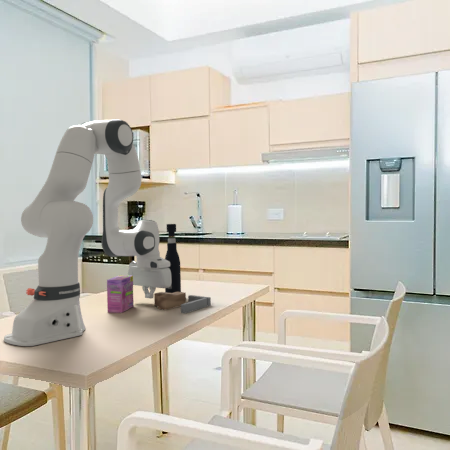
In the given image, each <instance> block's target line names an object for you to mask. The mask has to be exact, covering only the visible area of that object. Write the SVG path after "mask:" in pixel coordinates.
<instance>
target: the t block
mask: <svg viewBox="0 0 450 450" xmlns="http://www.w3.org/2000/svg"><path fill="white" fill-rule="evenodd" d="M186 298H187V294H186V292H184V291H181V292H174V293H167V292H165V291H159V292H154V298H153V299H154V302H153V303H154V306H155V307H157V309H158V310H162V309H163V310H164V311H168V310H171V309H175V308H179V307H181V304H184V303H187V301H186V300H187V299H186Z"/></svg>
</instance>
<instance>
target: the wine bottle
mask: <svg viewBox="0 0 450 450" xmlns="http://www.w3.org/2000/svg"><path fill="white" fill-rule="evenodd" d="M175 232H176V233H177V224H176V223H166V233H167V234H168V238H167V243H166V249H167V250H166V254H165V257H164V259H165V260H167V261H169V262H170V267H168V268H169V269H170V271H171V281H172V283H171V286H170V287H169V288H164V292H167V293H174V292H182V283H181V282H182V281H181V280H182V277H181V260H180V255H179V252H178V250H177V249H178V248H177V242H176V238H175V237H176V235H175Z"/></svg>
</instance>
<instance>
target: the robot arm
mask: <svg viewBox="0 0 450 450" xmlns="http://www.w3.org/2000/svg"><path fill="white" fill-rule="evenodd" d="M95 155H104V156H105V158H106V159H107V161H106V162H107V172H108V184H107V187H105V189H104V191H103V195H102V236H101V248H102V250H103V252H104V253H105V254H106V255H107V256H108V257H110V258H113V257H114V258H115V257H136V261H135V260H131V262H130V263H129V265H128V267H129V268H128V271H127V272H128V273H127V275H132V276H133V286H136V287H137V286H138V287H140V286H141V288H142V291H143V293H144V298H146V299H154V293H156V292H155V291H157V289H165V288H169V287H170V286H171V283H172V281H171V271H170V269H169V268H168V267H170V262H169V261H167V260H165V258H164V257H162V256H161V254H160V253H161V252H160V249H159V247H160V232H159V226H158V225H159V224H158V223H157V222H156V221H155V220H152V219H139V220H137V222H136V226H135V227H133V228H132V229H120V228H119V206H120V204H121V203H122V202H123V201H124V200H126V199H128V198H130V197H132V196H133V195H135V194H136V193H137V192H138V191H139V190H140V188H141V186H142V172H141V166H140V161H139V157H138V153H137V150H136V147H135V144H134V132H133V130H132V128H131V125H130V124H129V123H128V122H127V121H125V120H122V119H117V118H115V119H114V118H113V119H98V120H91V121H89V122H83V123H82V122H81V123H80V124H78V125H77V124H76V125H72V126H69V127H68V128H67V129H66V130H65V132H64V134H63V136H62V138H61V139H60V142H59V145H58V147H57V150H56V152H55V155H54V158H53V161H52V164H51V167H50V170H49V173H48V176H47V178H46V181H45V182H44V184H43V185H42V187H41V189H40V191H39V192H38V194H37V196H35V198H34V199H33V201H32V202H31V203H30V204H29V205H28V206H27V207H25V208H24V209H23V211H22V214H21V217H20V223H21V225H22V227H23V229H24V230H25V232H27V233H28V234H30V235H32V236H35V237H38V238H44V239H45V238H46V240H47V241H46V245H45V248H44V250H43V252H42V254H41V255H40V256H39V257H38V260H37V270H38V273H37V274H38V285H37V286H36V289H35V288H30V287H29V288H26V290H25V294H26V295H27V296H33V300H32V301H30V303H28V304H27V305H26V306H25V308H23V309H22V310H21V311H20V312H19V313H18V314H17V315H16V316H15V317H14V319H13V324H12V330H11V333H9V334H5V335H4V336H3V341H4V342H5V343H7V344H10V345H13V346H20V347H21V346H22V347H33V346H37V345H44V344H48V343H51V342H52V343H53V342H56V341H60V340H61V341H62V340H65V339H69V338H74V337H78V336H82V335H83V333H84V331H85V330H86V326H85V322H84V319H83V315H82V311H81V304H80V303H81V302H80V297H81V287H80V286H81V285H80V282H79V254H80V249H81V245H82V243H83V240H84V238H85V237H86V235H87V234H88V233H89V232H90V230H91V228H92V226H93V224H94V215H93V212H92V210H91V208H90V207H89V206H88V205H87V204H86V203H83V202H80V201H76V198H77V197H78V196H79V195H80V194H81V193H83V192H84V191H85V189H86V188H87V184H88V180H89V177H90V173H91V170H92V167H93V163H94V158H95Z"/></svg>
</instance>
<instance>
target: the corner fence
mask: <svg viewBox="0 0 450 450" xmlns="http://www.w3.org/2000/svg"><path fill="white" fill-rule="evenodd" d="M187 299H188V300H187V301H188V302H186V303H184V304H181V306H180V313H181V314H187V313H191V312H195V311H197V310H201V309H203V308H207V307H210V306H211V305H212V302H211V301H212V299H211V297H210V296H201V295H193V294H189V295H188V296H187Z"/></svg>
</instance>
